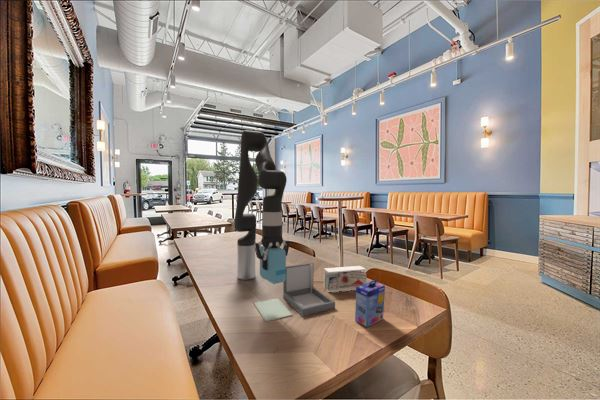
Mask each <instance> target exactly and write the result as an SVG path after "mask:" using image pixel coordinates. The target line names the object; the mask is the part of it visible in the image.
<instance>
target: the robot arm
mask: <svg viewBox="0 0 600 400" xmlns="http://www.w3.org/2000/svg"><path fill="white" fill-rule="evenodd" d="M240 136H241V137H240V159H239V160H240V162H239V173H238V174H239V175H238V181H237V183H238V184H237V200H236V201H237V202H236V208H235V215H234V222H233V223H234V225H233V226H234V230H235V231H236V232H238V233H241V232H242V233H245V232H247V233H246V234H245V235H244V236H241V237H240V238H238V239H237V246H236V247H237V248H236V249H237V251H236V252H237V257H236V259H237V263H236V264H237V269H236V271H237V273H236V274H237V276H236V277H237V279H239V280H246V281H247V280H252V279H254V278H256V258H257V259H258V260H260V259H262V268H263V269H264V270H267V260H266V259H267V256H268V254H269V249H271V248H281V246H282V245H283V248H282V249H284V250H285V252H286V257H287V256H288V253H289V249H290V244H291V241H290V240H288V239H284V238H283V212H282V208H283V207H282V204H283V203H282V202H283V197H284V192H285V189H286V185H287V175H286V173H285V172H284V171H283V170H277V167H276V164H275V162H274V160H273V158H272V155H271V152H270V148H269V143H268V140H267V139H268V138H267V137H266V134H265V133H264V132H262V131H259V130H258V131H255V130H249V129H246V130H245V129H244V130H243V131H242V132H241V135H240ZM249 152H256V153H257V152H258V153H257V154H256V156H255V160H254V161H255V166H256V168H257V172H258V175H257V173H256V171H255V169H254V167H253V166H252V163H251V161H250V157H249ZM258 186H259V187H260V188H261V189H262V190H274V192H273V194H270V195H265V196H264V197H263V198H262V216H261V217H262V219H261V224H262V226H261V236H262V237H261V240H260V241H258V242H256V241H257V240H256V239H257V217H256V214H254V213H244V212H245V209H246V208H247V205H248V204H249V203H250V201H252V199H253V198H254V197H255V195H256V194H257V192H258V191H257V190H258ZM261 246H264V250H263V254H262V255H261V252H260V248H261ZM265 249H266V251H265Z"/></svg>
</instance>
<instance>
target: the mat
mask: <svg viewBox="0 0 600 400" xmlns="http://www.w3.org/2000/svg"><path fill="white" fill-rule="evenodd" d="M253 305H254V306H255V308H256V310H257V311H258V313H259V315H261V317H262V318H263V320H264V321H265V322H267V323H268V322H270V321H275V320H279V319H284V318H288V317H292V316H293V314H292V312H291V311H290V310H289V309H288V307H286V305H284V303H282V302H281V300H280V299H279V298H272V299H267V300H263V301H262V300H261V301H256V302H254V303H253Z"/></svg>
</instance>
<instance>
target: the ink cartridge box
mask: <svg viewBox="0 0 600 400" xmlns="http://www.w3.org/2000/svg"><path fill="white" fill-rule="evenodd" d="M377 281H378V279H377V278H376V279H374V280H372V281H368V282H366V284H362V285H360V286H357V287H356V290H355V315H354V317H355V318H354V321H355V322H357V323H359V324H360V325H362V326H363V327H366V328H368V327H371V326H372V325H374V324H376V323H378V322H381V321H382V320H383V319H384V311H385V291H386V290H385V289H386V285H385V284H382V283H380V282H377Z"/></svg>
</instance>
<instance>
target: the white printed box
mask: <svg viewBox="0 0 600 400" xmlns="http://www.w3.org/2000/svg"><path fill="white" fill-rule="evenodd" d="M366 270H367V268H365V267H363V266H361V265H352V266H351V265H350V266H339V267H337V266H336V267H325V268H323V289H324V288H325V289H326V290H327V291H328V292H332V293H340V292H339V291H342V292H348V291H349V292H352V291H356V287H357V286H360V285H362V284H366V283H367V272H366ZM325 289H324V290H325ZM326 290H325V291H326ZM351 290H352V291H351ZM327 291H326V292H327ZM328 292H327V293H328Z"/></svg>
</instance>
